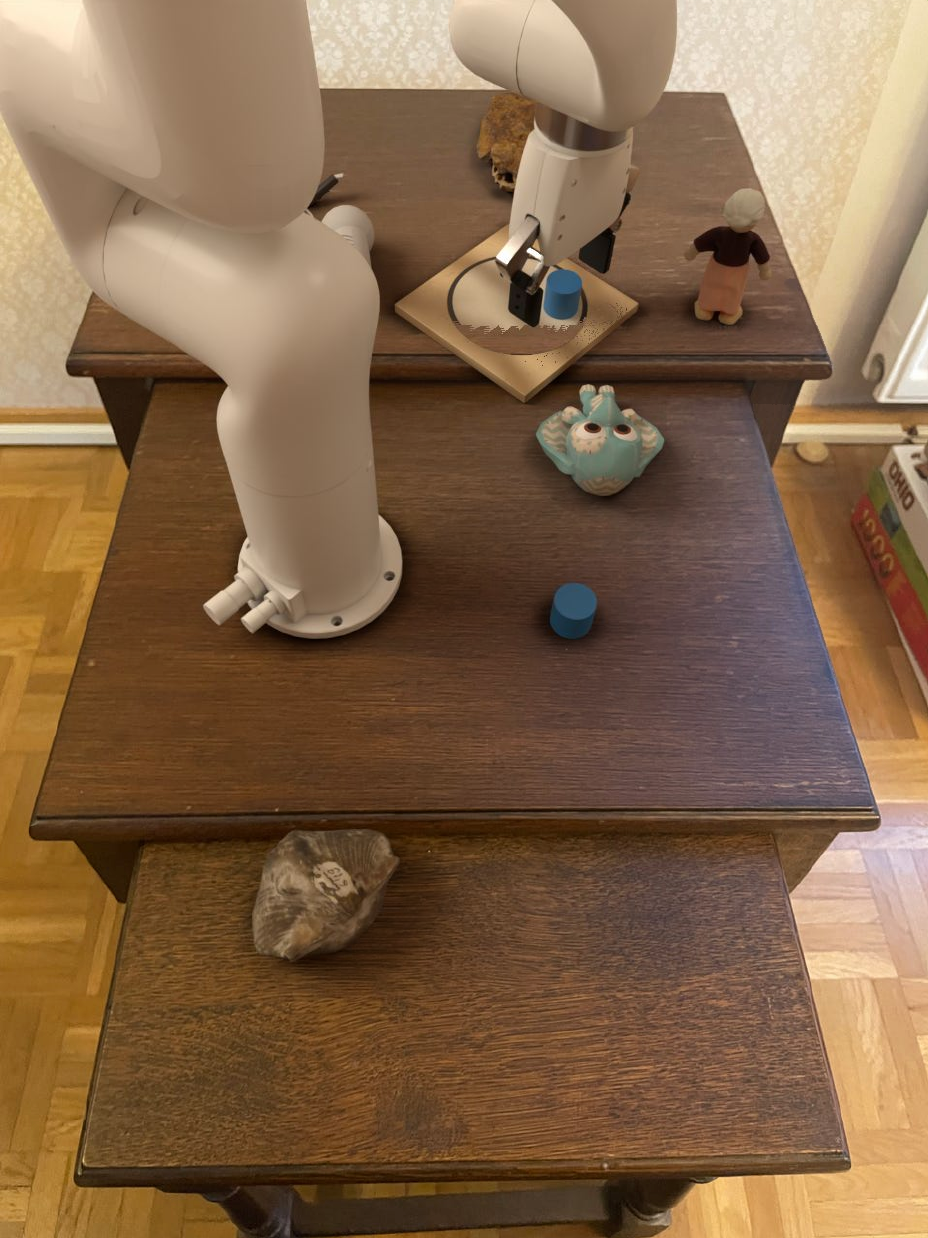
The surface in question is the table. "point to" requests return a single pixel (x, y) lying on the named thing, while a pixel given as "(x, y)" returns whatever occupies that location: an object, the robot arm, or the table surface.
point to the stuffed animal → (599, 442)
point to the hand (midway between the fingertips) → (559, 291)
